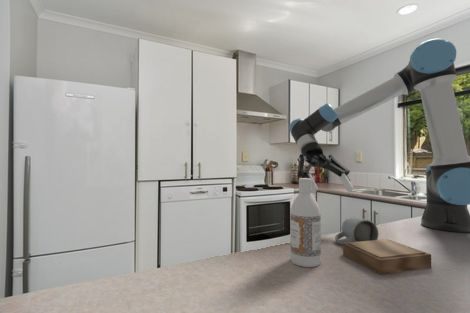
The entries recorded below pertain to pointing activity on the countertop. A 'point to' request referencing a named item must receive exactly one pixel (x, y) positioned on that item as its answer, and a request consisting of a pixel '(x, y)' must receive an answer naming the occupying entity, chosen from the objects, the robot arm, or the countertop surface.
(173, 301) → the countertop surface
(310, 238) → the bath foam
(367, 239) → the ceramic mug
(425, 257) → the walnut base
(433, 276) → the countertop surface
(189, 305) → the countertop surface
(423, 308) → the countertop surface
